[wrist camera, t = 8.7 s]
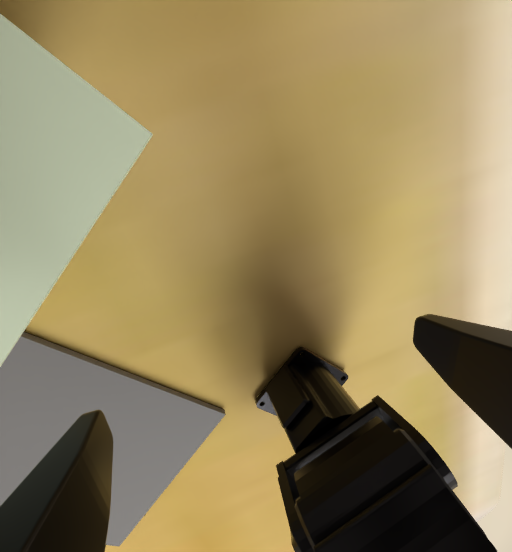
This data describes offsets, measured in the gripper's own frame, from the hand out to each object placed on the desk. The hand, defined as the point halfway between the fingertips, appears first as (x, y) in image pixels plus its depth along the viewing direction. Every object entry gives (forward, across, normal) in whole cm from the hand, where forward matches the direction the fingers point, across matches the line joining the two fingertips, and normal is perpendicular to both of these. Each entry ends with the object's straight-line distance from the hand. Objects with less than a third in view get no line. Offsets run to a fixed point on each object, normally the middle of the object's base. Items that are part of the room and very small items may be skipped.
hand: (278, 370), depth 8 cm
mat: (+13, +13, +14) cm, 23 cm away
